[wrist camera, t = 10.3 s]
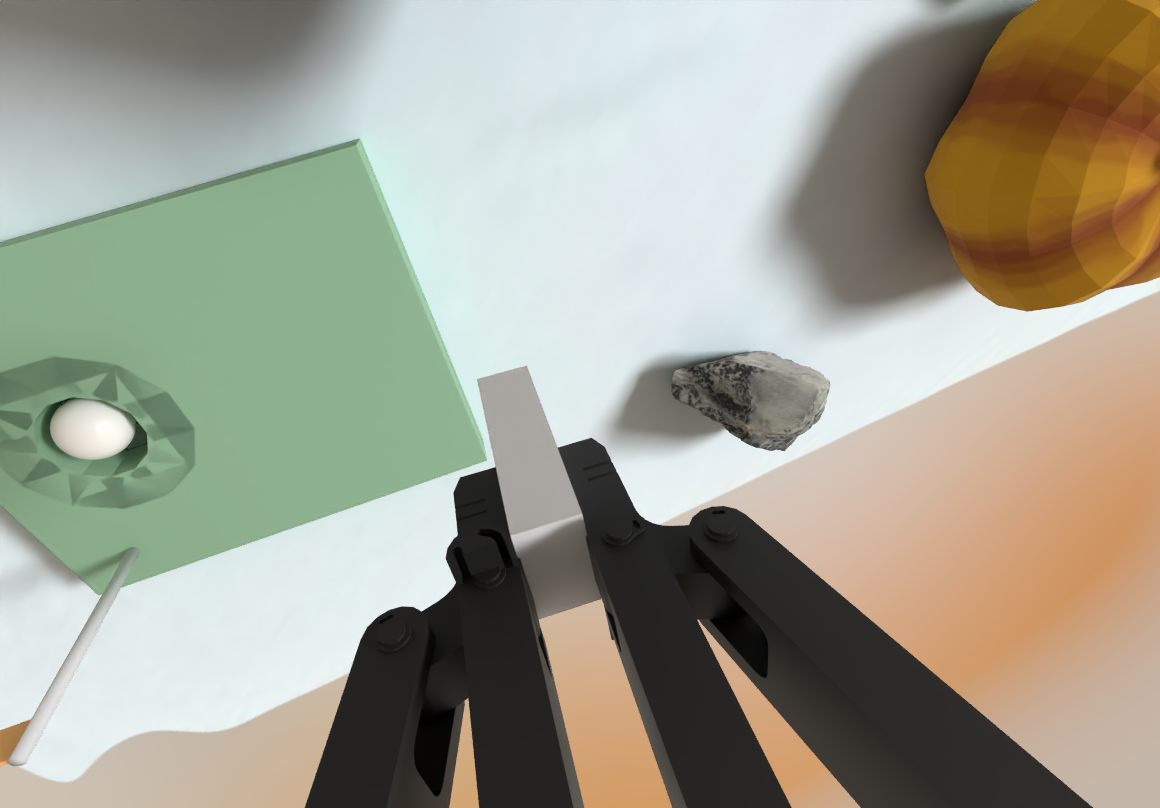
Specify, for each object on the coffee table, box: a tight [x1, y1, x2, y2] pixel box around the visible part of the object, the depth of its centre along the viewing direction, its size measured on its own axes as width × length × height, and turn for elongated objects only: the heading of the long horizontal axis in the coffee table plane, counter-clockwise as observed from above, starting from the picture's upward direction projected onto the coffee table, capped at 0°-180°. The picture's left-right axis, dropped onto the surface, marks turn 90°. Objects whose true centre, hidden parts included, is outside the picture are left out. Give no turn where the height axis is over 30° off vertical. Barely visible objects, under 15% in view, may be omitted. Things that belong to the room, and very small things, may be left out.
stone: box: [671, 351, 830, 451], centre depth 45 cm, size 10×10×10 cm
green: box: [0, 139, 487, 766], centre depth 30 cm, size 28×22×17 cm
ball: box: [50, 397, 136, 460], centre depth 35 cm, size 4×4×4 cm
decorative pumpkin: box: [924, 0, 1160, 311], centre depth 37 cm, size 20×22×15 cm
